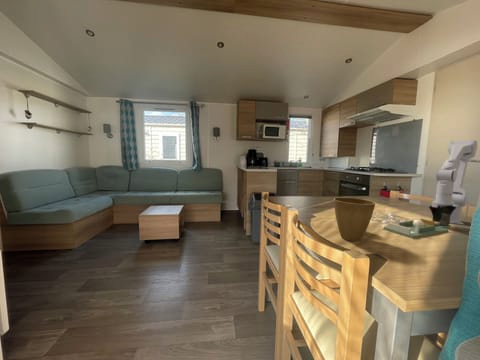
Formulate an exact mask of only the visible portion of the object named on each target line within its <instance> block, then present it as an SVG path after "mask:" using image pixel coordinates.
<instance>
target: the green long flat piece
mask: <svg viewBox="0 0 480 360" xmlns="http://www.w3.org/2000/svg"><path fill="white" fill-rule="evenodd" d="M414 220H415V219H414ZM414 220H407V221H400V223H399V225H400V226H404V227H407V228H411V231H412V232H415V227H414V225H413V221H414ZM450 227H452V225H451V224H449V225H441V224H440V225H432V226H423V227H420V228H419V233H411V235H408V234H405V233H402V232H399V231H395V230H392V229H389V228H388V226H383V230H385V231H388V232H390V233H394V234H397V235H400V236H403V237H407V238H409V239H417V238H422V237H427V236H428V237H429V236H431V235H432V236H433V235H438V234H443V232H444V233H448V232H449V229H450ZM445 228H446V229H445Z"/></svg>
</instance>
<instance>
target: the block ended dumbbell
mask: <svg viewBox="0 0 480 360" xmlns="http://www.w3.org/2000/svg"><path fill="white" fill-rule="evenodd" d="M450 216H451V215H449V214H444V213H442V216H441V219H440V221H439V222H438V221H434V220H433V218H432V220H431V219H425V218H420V219H419V220H421V221H423V222H424V226H432V225H440V224H441V225H451V223H450Z"/></svg>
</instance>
